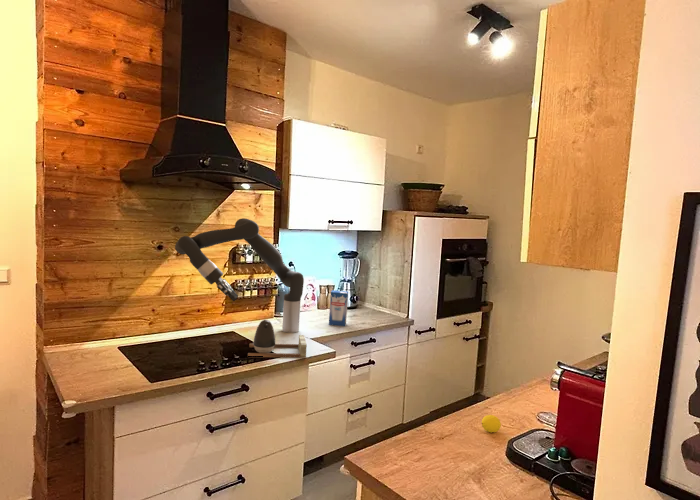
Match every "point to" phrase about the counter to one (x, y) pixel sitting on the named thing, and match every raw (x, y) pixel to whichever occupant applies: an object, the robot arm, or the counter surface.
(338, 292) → the milk carton
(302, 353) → the track
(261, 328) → the dark grey rounded cone
